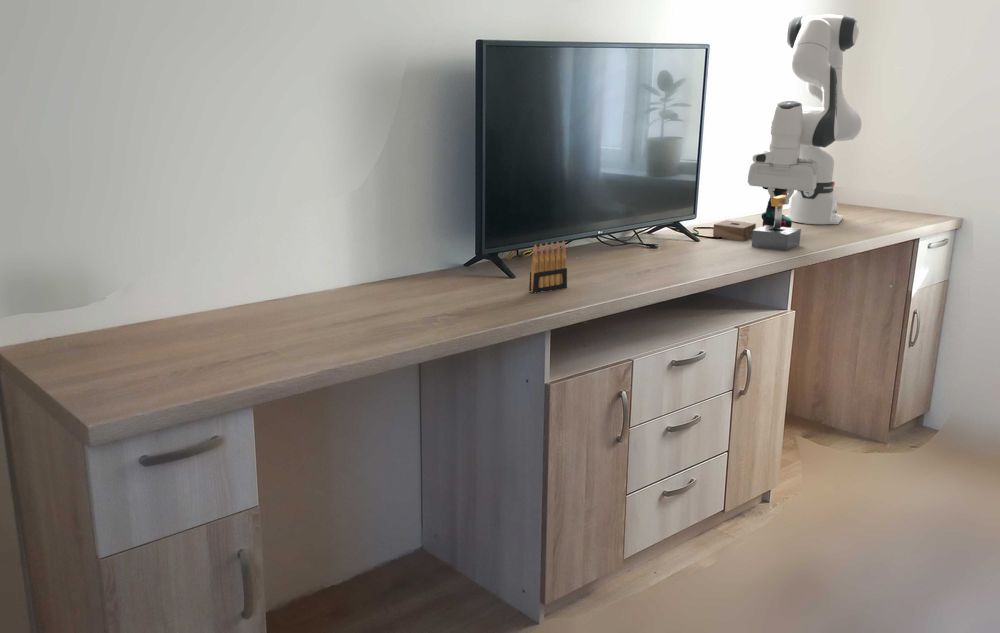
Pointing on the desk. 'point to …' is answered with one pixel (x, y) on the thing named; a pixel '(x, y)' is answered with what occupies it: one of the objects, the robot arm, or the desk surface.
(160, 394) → the desk surface
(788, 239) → the block
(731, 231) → the wooden square hole block
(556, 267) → the ammunition clip
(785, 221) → the power drill
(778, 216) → the block
